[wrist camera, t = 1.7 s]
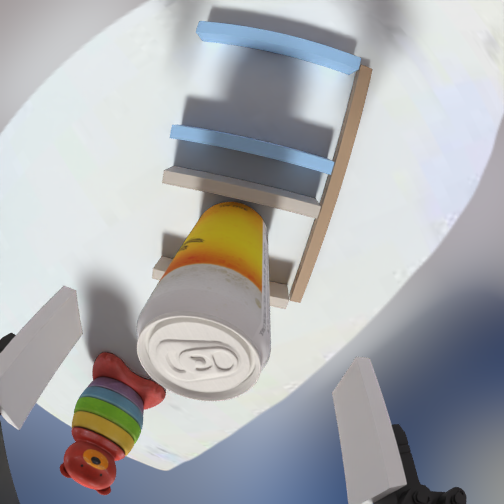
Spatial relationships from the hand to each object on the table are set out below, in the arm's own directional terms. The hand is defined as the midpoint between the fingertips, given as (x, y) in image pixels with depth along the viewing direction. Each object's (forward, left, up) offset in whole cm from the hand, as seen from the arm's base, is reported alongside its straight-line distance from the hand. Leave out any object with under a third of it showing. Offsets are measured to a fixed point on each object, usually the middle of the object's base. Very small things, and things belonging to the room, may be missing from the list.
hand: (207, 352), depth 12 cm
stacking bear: (-11, -26, -14) cm, 32 cm away
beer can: (0, 0, -14) cm, 14 cm away
